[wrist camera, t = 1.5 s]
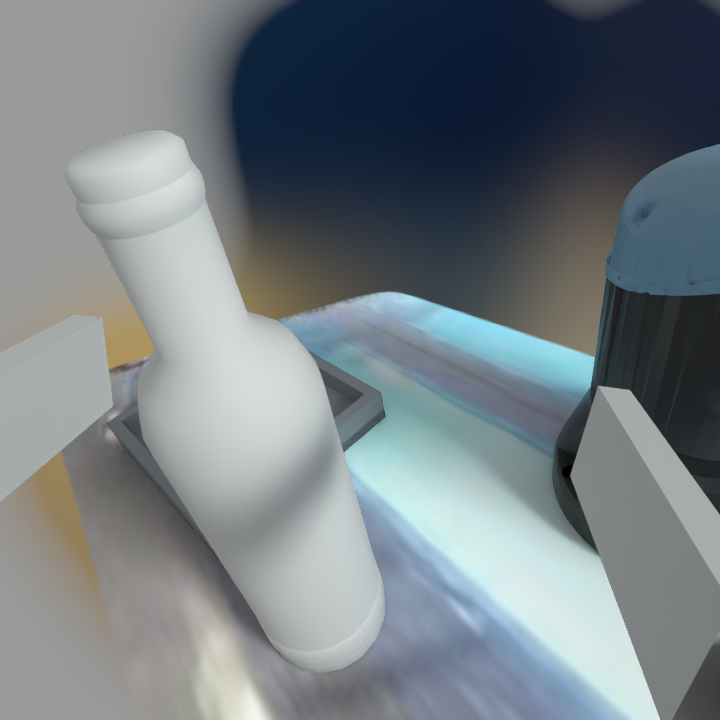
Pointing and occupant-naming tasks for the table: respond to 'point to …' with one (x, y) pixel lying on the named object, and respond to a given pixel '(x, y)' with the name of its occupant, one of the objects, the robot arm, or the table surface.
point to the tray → (347, 401)
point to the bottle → (234, 408)
